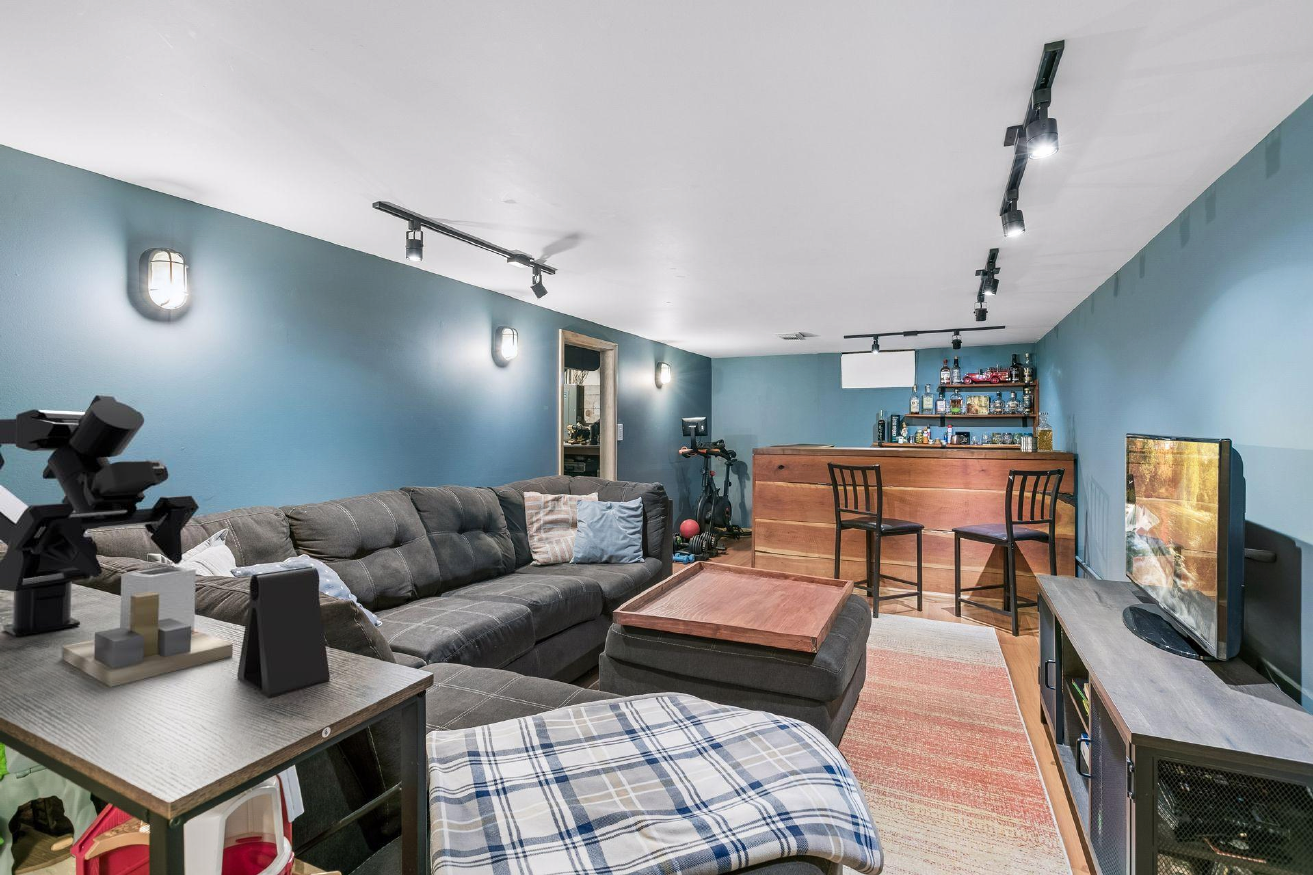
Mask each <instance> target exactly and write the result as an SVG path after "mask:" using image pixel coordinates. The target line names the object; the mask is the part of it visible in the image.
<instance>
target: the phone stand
mask: <svg viewBox="0 0 1313 875" xmlns="http://www.w3.org/2000/svg"><path fill="white" fill-rule="evenodd" d="M247 608H248V609H247V615H246V622H245V627H244V632H243V638H242V642H241V643H242V645H241V651H240V657H239V663H238V666H237V677H236V678H237V679H238V680H240V681H241V682H243V683H244V684H246V685H247V686H249V687H251V688H252V689H254V690H255V691H257V692H258V693H259V694H262V695H263V696H264V697H266V698H268V699H270V698H274V697H277V696H280V695H284V694H287V693H290V692H294V691H298V690H301V689H304V688H308V687H311V686H315V685H318V684H322V683H325V682H328V681H329V682H330V680H331V676H330V669H329V668H330V667H329V663H328V654H327V647H326V639H325V631H324V623H323V615H322V609H321V600H320V575H319V571H318V569H317V567H313V566H306V567H300V568H292V569H287V570H284V569H283V570H278V571H271V572H264V573H257V574H252V575H251V577H250V581H249V601H248V607H247Z"/></svg>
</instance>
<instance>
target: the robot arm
mask: <svg viewBox="0 0 1313 875" xmlns="http://www.w3.org/2000/svg"><path fill="white" fill-rule="evenodd" d="M144 423H145V418H144V415H143V414H142V413H141V412H140V411H137V410H136V409H134V408H133V407H132V406H129V405H128V404H126V403H123V402H120V401H117V400H116V399H115V396H112V395H110V396H109V395H100V394H98V395H95V396H94V398H93V399H92V400H91V401H90V404H89V407H88V408H87V410H86V411H72V410H56V409H55V410H53V409H35V408H34V409H29V410H27V411H26V410H25V411H22V412H20V413H18V414H16V416H15V418H4V419H3V418H0V448H1V447H2V445H4V446H5V445H15V446H16V448H18V449H23V450H26V451H31V452H52V453H51V455H50V456H49V458H47V465H46V466H45V468H44V470H43V471H42V478H43V479H44V480H52V479H53V480H56V481H57V482H58V483H59V485H60V488H61V489H62V491H63V492H64V494H65V496H64V497H63V499H62V500H61V503H47V504H45V503H44V504H30V505H27V504H26V503H24V502H23V501H22V500H20V499H19V497H17V496H15V494H13V493H12V492H10V490H8V489H6V488H5V487H4V486H2V485H1V484H0V540H1V542H3V543H4V544H5V545H6V546H7V549H6V551H5V555H4V556H3V558H2V559H1V560H0V591H6V592H7V591H8V592H13V604H12V605H13V607H12V608H13V610H12V624H6V625H3V628H2V629H3V630H4V631H5V632H7V633H9V634H10V635H13V636H14V637H23V636H28V635H32V634H38V633H43V632H44V633H45V632H49V631H54V630H60V629H66V628H71V627H77V626H78V627H79V626H80V625H81V621H79V620H77V619H75V618H73V617H72V616H71V615H72V614H71V613H72V588H73V586H72V584H73V582H77V581H82V580H84V581H85V580H90V579H91V577H94V578H98V577H100V576H101V574H103V570H102V566H101V564H100V562H99V559H98V557H97V554H98V546H97V543H96V540H95V539H94V538H93V537H92V536H91V534H90V533H89V532H87V530H94V529H95V530H96V529H98V530H101V529H102V530H103V529H104V530H105V529H112V528H121V527H122V528H123V527H132V526H133V527H134V526H143V525H144V528H145V529H146V531H147V532H148V533H151V534H152V535H151V536H150V537H149V538H150V540H151V541H152V542H153V543H154V544H155V545H156V547H157V548H158V549H159V550H160V551H161V552H162V553H163V554H164V555H165V556H166V557H167V558H168V560H170V562H172V563H173V564H175V565H179V564H180V563H181V562H182V560H183V552H182V548H183V547H182V535H181V534H182V531H183V529H184V528H185V527H186V525H187V524H188V522H189V521H190V520H191V518H192V517H193V516H194V515H195V514H196V512H197V511H198V510H199V508H200V507H199V505H198V503H197V502H196V500H195V498H194V497H193V496H192V495H171V496H160V497H158V498H159V499H158V500H157V501H156V503H155V504H154V505H153V507H151V508H141V509H140V508H139V509H138V507H137V504H138V503H142V502H143V500H144V499H145V498H146V495H145V494H144V492H145V491H146V490H149V488H151V487H156V486H158V485H160V484H162V483H163V482H165V481H167V480H168V479H169V475H170V474H169V472H168V468H167V466H166V465H165V464H164V463H163V461H162V460H161V459H146V460H144V461H143V460H142V461H141V460H140V461H139V460H138V461H137V460H136V461H127V460H126V461H115V462H112V463H111V461H110V460H109V459H108V458H113V457H117V456H119V455H122V453H123V452H124V451H125V449H126V448H127V446H128V445H129V444H130V443H131V441H132V440H133V439H134V437H135V436H136V435H137V433H138V432H139V431H140V429H141V428H142V427H143V425H144ZM4 465H5V460H4V457H3V455H2V453H1V451H0V471H1V470H2V468H3V467H4Z"/></svg>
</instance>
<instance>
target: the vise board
mask: <svg viewBox="0 0 1313 875" xmlns="http://www.w3.org/2000/svg"><path fill="white" fill-rule="evenodd" d="M158 618H159V594H158V593H154V592H147V593H141V594H135V595H131V602H130V630H129V629H126V628H124V627H121V628H120V627H117V628H112V629H108V630H102V631H96V632H94V639H92V640H87V641H83V642H77V643H72V644H68V645H62V647H61V648H62V649H61V659H62V660H63V661H65V662H67V663H69V664H70V665H72V666H73V667H75V668H77V669H79V670H81V671H82V672H84V673H86V674H87V675H89V676H90V677H92V678H95V679H96V680H98V681H99V682H101V683H104V685H106V686H108V687H110V688H112V687H116V686H121V685H125V684H129V683H132V682H137V681H139V680H144V679H149V678H152V677H155V676H160V675H164V674H167V673H171V672H175V671H179V670H183V669H187V668H191V667H195V666H200V665H203V664H207V663H212V662H215V661H218V660H222V659H227V658H231V657H233V652H234V651H233V650H234V648H233V646H234V644H233V643H232V642H229V641H226V640H224V639H220V638H218V637H215V636H213V635H209V634H207V633H205V632H202V631H199V630H196V629H194V631H191V626H190V625H187V624H184V623H182V622H179V621H176V620H173V619H171V618H168V619H163V620H158Z"/></svg>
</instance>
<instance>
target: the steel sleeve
mask: <svg viewBox="0 0 1313 875" xmlns="http://www.w3.org/2000/svg"><path fill="white" fill-rule="evenodd" d="M196 570H197V568H188V567H178V566H170V565H169V566H164V567H163V566H162V567H157V568H156V567H155V568H150V569H143V570H138V571H132V572H130V571H129V572H125V573H121V580H120V614H119V616H120V617H119V618H120V619H119V620H120V621H119V628H121V627H124V628H126V629H129V630H130V602H131V595H135V594H141V593H147V592H154V593H158V594H159V618H158V620H163V619H168V618H171V619H173V620H176V621H179V622H182V623H184V624H187V625H190V626H191V631H194V630H195V617H196V612H195V611H196V579H197V578H196V576H197V575H196V574H197V573H196V572H197V571H196Z"/></svg>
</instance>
